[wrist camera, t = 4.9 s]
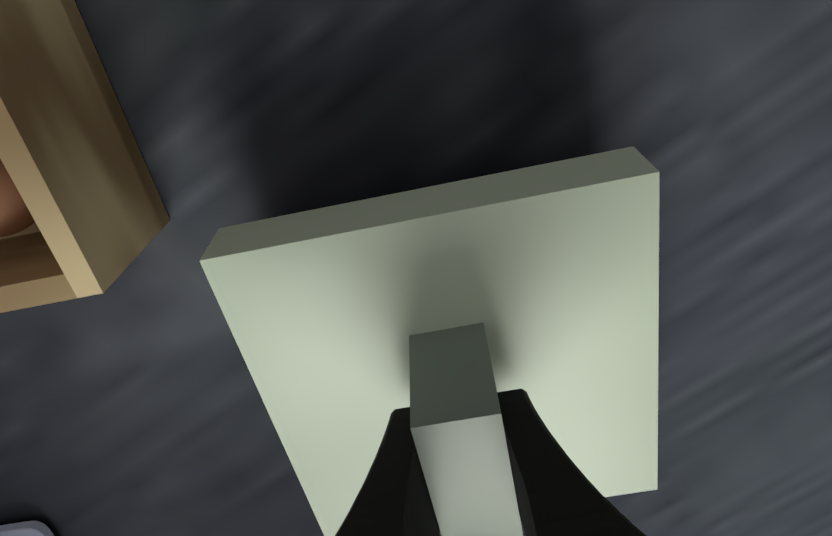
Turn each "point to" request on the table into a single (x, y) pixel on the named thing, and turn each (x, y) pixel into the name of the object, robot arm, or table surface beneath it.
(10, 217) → the box
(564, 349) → the lid
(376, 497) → the robot arm
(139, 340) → the table surface
